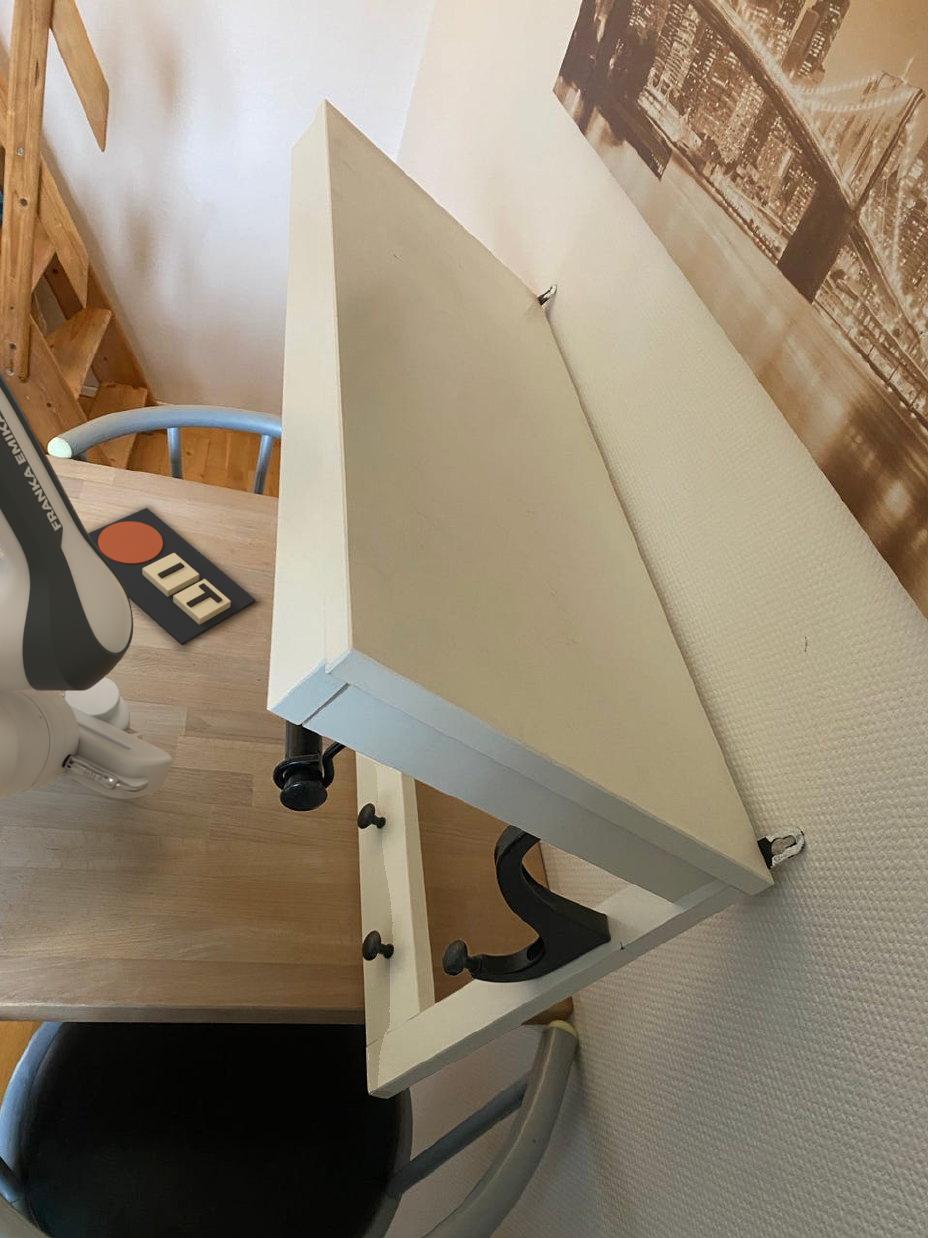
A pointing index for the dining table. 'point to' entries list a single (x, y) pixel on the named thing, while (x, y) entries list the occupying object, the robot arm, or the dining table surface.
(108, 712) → the pill bottle
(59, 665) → the robot arm
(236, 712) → the dining table surface
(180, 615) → the letter mat
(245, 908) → the dining table surface
